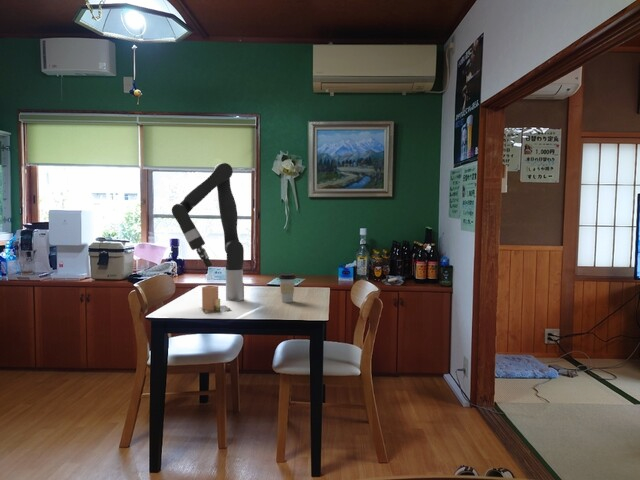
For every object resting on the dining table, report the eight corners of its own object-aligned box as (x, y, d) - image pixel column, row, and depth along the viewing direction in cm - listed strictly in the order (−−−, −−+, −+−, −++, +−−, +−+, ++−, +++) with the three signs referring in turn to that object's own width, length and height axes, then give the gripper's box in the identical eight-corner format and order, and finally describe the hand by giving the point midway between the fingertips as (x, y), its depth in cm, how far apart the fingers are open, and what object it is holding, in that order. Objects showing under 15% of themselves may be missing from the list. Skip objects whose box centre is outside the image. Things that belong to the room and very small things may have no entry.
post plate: (225, 307, 225) (224, 293, 225) (232, 313, 213) (232, 298, 212) (199, 310, 219) (199, 295, 219) (205, 316, 207) (205, 301, 206)
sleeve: (202, 309, 215) (202, 287, 215) (208, 307, 221) (208, 285, 220) (214, 310, 213) (213, 288, 213) (220, 308, 219) (220, 286, 218)
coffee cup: (285, 304, 234) (285, 276, 233) (275, 301, 241) (275, 274, 240) (299, 301, 240) (299, 274, 239) (288, 299, 248) (288, 272, 246)
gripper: (199, 234, 223) (214, 262, 223) (202, 236, 237) (217, 262, 237) (185, 242, 222) (201, 270, 222) (190, 243, 236) (204, 269, 236)
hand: (209, 266), depth 229 cm, fingers open, 8 cm apart
